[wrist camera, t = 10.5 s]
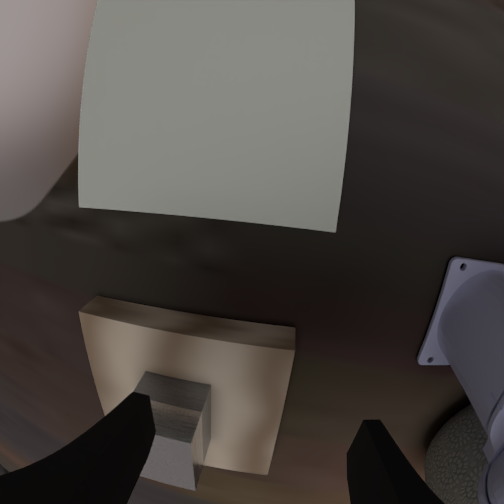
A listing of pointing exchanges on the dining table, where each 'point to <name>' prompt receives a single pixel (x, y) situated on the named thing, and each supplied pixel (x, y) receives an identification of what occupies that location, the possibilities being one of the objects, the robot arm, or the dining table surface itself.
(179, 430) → the block
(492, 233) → the dining table surface
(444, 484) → the planter
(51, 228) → the dining table surface
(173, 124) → the stand
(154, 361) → the stand
